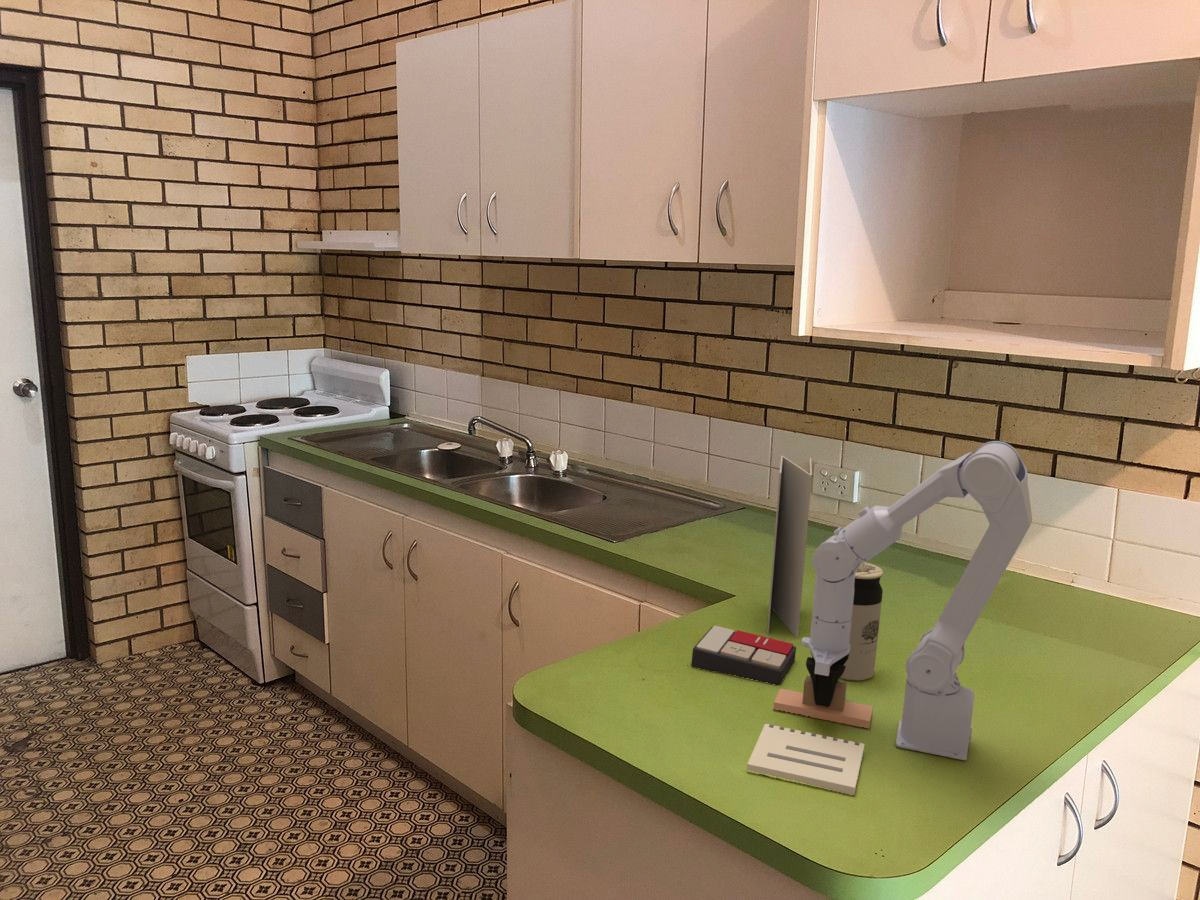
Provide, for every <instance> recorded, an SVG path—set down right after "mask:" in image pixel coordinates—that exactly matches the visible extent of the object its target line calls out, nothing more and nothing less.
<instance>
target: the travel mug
mask: <svg viewBox="0 0 1200 900" xmlns="http://www.w3.org/2000/svg"><path fill="white" fill-rule="evenodd" d="M854 571H855V582H854V600H853V610H852V621H851V631H850V641H849V644H850V652H849V658H848V660H847V661H846V663H845V664H844V666H846V668H845V671H844V673H843V674H842V676H841V677H840V678H839V679H842V680H846V681H851V682H852V681H854V682H855V681H856V682H857V681H858V682H859V681H864V680H868V679H871V678H872V677H873V676H874V675H875V667H876V658H877V652H878V651H877V649H878V641H879V640H878V639H879V632H880V631H879V630H880V622H881V620H880V619H881V612H882V603H883V602H882V601H883V593H884V592H883V591H884V590H883V588H882V586H881V585H882V584H881V583H880V581H881V577H882V576H883V575H884V571H883V569H881V567H879V566H877V565H875V564H872V563H868V562H864V563H861V564H860V565H859V566H858V567H857V568H856V569H855V570H854Z"/></svg>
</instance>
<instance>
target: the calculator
mask: <svg viewBox="0 0 1200 900" xmlns="http://www.w3.org/2000/svg"><path fill="white" fill-rule="evenodd" d="M796 654H797V647H796V645H794V643H791V642H788V641H785V640H784V641H783V640H781V639H780V640H779V639H774V638H771V637H767V636H765V635H764V636H762V635H759V634H755V633H751V632H747V631H742V630H733V629H730V628H727V627H726V628H725V627H723V626H719V625H712V626H711V627H710V628H709V629H708V630H707V631H706V633H705V634H704V635H703V636H702V637H701V638H700V640H699V641H697V643H696V644H695V646H694V647H693V648H692V657H691V664H690V666H692V668H695V669H698V668H700V669H699V670H703V669H705V670H704V671H707V670H709V672H712V671H716V672H715V673H721V674H725V673H726V674H725V675H728V674H731V675H730V676H732V675H736V676H739V677H738V678H740V677H744V678H743V679H745V678H749V679H753V680H752V681H754V680H758V681H762V682H761V683H763V682H768V683H770V684H769V685H772V684H775V685H774V686H777V685H779V686H781V685H782V683H783V681H784V680H785V678H786V676H787V675H788V673H789V671H790V670H791V668H792V666H793V665H794V663H795V659H796ZM789 669H790V670H789ZM786 674H787V675H786ZM736 676H735V677H736ZM749 679H748V680H749ZM783 679H784V680H783ZM758 681H757V682H758ZM780 684H781V685H780Z"/></svg>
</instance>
